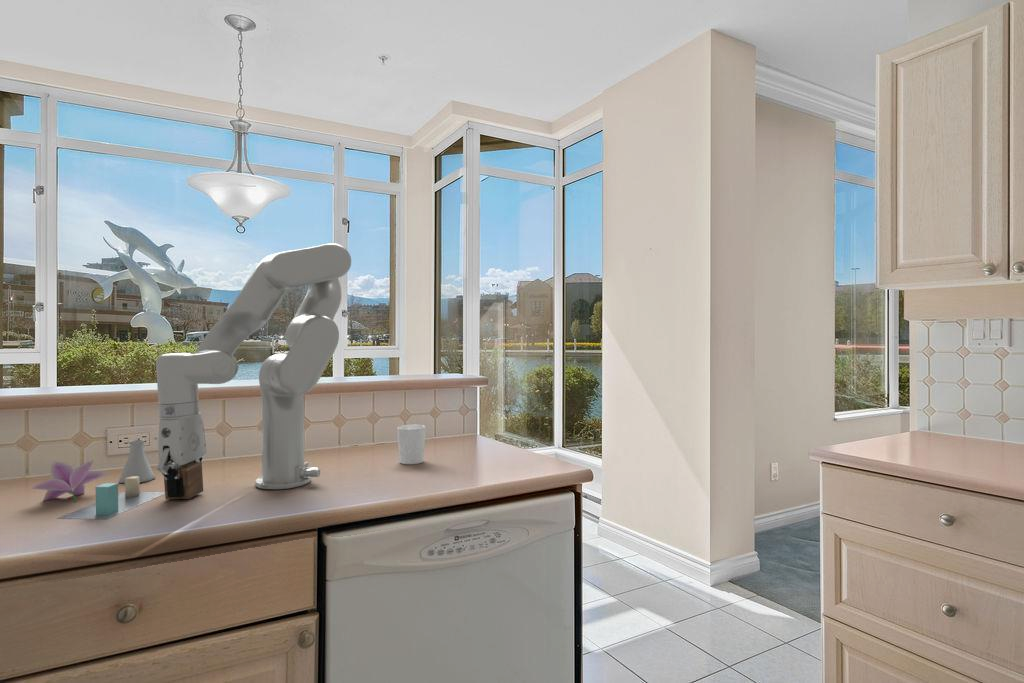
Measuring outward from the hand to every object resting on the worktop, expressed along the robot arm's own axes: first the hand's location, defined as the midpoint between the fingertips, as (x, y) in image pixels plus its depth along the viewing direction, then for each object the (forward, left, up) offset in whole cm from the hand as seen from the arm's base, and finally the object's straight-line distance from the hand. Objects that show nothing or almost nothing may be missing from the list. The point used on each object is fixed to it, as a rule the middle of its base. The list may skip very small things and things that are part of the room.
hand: (184, 491), depth 123 cm
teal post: (+9, +11, -1) cm, 14 cm away
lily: (+23, +3, -2) cm, 24 cm away
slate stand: (+11, +6, -2) cm, 13 cm away
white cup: (-41, -39, -2) cm, 57 cm away
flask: (+22, -15, -2) cm, 27 cm away
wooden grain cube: (0, 0, -1) cm, 1 cm away
